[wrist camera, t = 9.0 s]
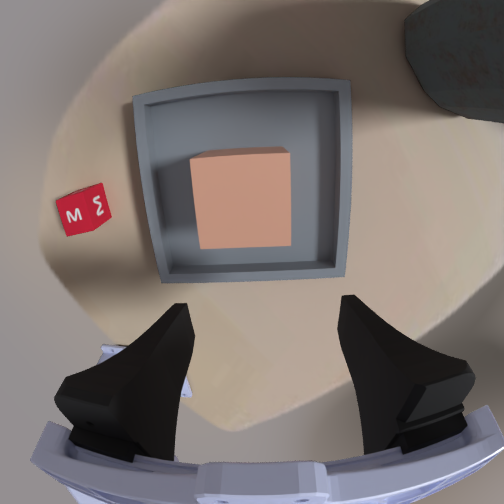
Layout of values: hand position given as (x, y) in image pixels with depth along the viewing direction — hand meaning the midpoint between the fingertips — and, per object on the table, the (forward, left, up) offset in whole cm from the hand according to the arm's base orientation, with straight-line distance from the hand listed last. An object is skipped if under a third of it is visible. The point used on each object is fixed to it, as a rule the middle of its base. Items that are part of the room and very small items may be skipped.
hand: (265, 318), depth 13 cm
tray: (-1, +5, -9) cm, 10 cm away
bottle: (+16, +16, -10) cm, 24 cm away
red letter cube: (-14, +4, -10) cm, 17 cm away
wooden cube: (-1, +4, -9) cm, 10 cm away
